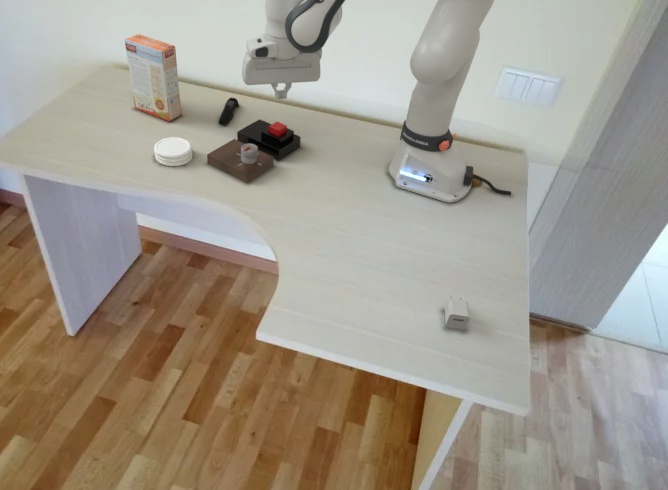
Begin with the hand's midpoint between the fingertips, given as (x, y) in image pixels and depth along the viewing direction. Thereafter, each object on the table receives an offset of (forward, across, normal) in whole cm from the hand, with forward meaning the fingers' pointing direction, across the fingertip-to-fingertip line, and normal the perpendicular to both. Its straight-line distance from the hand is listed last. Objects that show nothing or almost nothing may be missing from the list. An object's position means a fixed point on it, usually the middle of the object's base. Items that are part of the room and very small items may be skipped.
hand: (280, 98), depth 142 cm
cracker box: (+15, +32, -26) cm, 44 cm away
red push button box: (+15, +3, -2) cm, 15 cm away
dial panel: (+15, +12, +7) cm, 21 cm away
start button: (+10, +1, 0) cm, 10 cm away
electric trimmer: (+15, +11, -21) cm, 28 cm away
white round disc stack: (+15, +29, +1) cm, 33 cm away
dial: (+12, +10, +10) cm, 18 cm away
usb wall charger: (+16, -21, +69) cm, 74 cm away
